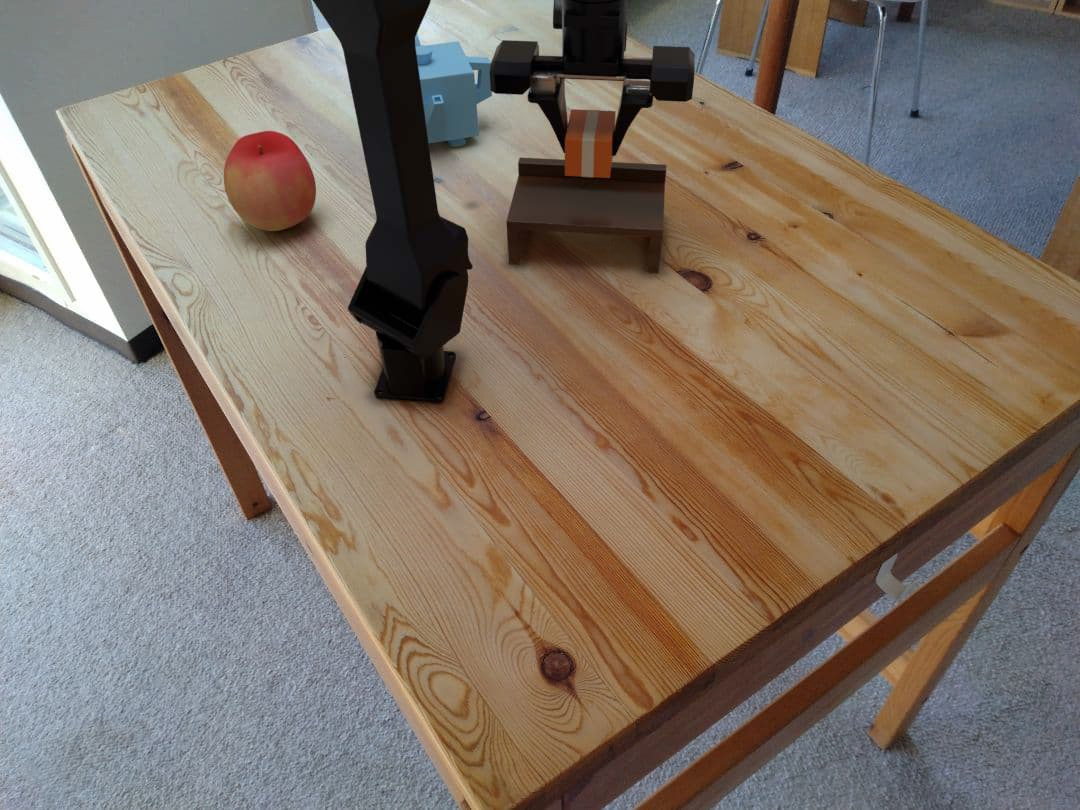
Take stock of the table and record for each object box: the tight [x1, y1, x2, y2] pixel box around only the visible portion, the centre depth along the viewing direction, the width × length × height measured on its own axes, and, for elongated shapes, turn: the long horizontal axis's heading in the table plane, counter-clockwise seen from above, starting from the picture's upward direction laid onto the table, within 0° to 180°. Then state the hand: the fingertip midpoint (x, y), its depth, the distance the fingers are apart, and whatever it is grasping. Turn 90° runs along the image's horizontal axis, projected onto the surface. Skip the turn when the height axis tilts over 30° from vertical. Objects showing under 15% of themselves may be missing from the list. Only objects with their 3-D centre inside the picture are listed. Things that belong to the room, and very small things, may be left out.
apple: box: [223, 130, 317, 232], centre depth 93 cm, size 10×10×10 cm
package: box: [564, 108, 617, 178], centre depth 85 cm, size 6×4×4 cm
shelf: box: [505, 157, 668, 274], centre depth 91 cm, size 10×16×7 cm, turn 83°
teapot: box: [415, 33, 493, 148], centre depth 107 cm, size 16×18×11 cm
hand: (590, 152), depth 85 cm, fingers closed on package, 4 cm apart
